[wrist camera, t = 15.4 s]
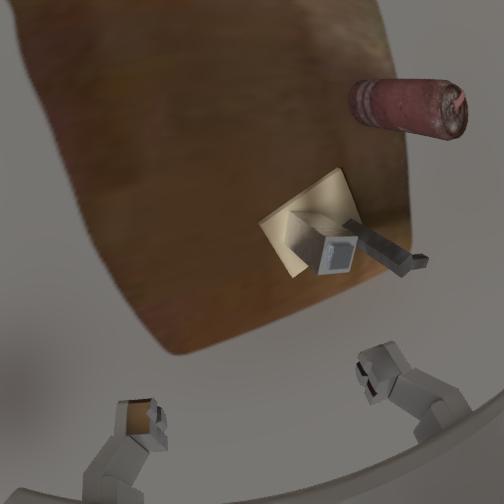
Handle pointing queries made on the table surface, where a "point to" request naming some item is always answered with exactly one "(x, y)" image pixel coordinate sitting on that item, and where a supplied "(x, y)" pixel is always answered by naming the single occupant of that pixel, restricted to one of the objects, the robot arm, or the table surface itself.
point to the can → (411, 106)
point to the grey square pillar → (320, 242)
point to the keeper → (343, 213)
